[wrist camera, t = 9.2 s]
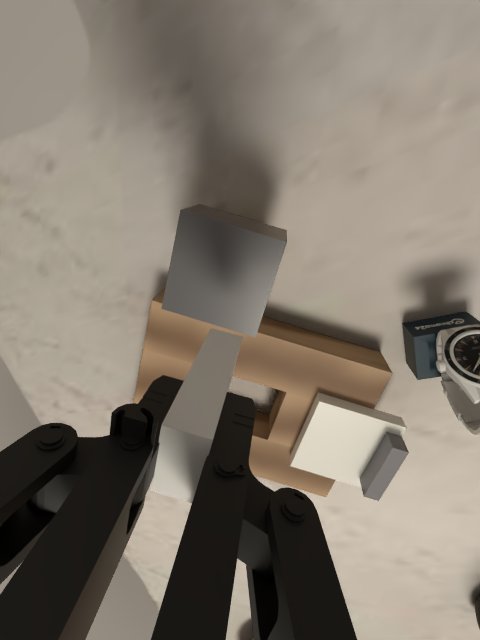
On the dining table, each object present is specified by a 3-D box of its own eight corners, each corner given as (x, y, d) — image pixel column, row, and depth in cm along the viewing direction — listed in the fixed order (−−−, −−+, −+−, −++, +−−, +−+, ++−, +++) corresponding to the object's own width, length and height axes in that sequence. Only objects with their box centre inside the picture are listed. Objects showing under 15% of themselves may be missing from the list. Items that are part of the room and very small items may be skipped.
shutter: (318, 392, 32) (321, 415, 29) (401, 417, 32) (414, 443, 29) (290, 455, 35) (290, 482, 32) (365, 478, 35) (374, 508, 32)
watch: (465, 291, 31) (554, 346, 21) (468, 369, 33) (547, 451, 23) (399, 304, 32) (452, 362, 22) (407, 378, 35) (457, 460, 24)
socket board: (166, 287, 34) (152, 300, 30) (380, 352, 34) (392, 373, 30) (141, 413, 40) (127, 436, 37) (322, 468, 40) (326, 497, 36)
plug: (215, 199, 30) (180, 209, 20) (286, 221, 30) (287, 241, 20) (199, 269, 33) (161, 308, 23) (264, 288, 33) (255, 337, 23)
